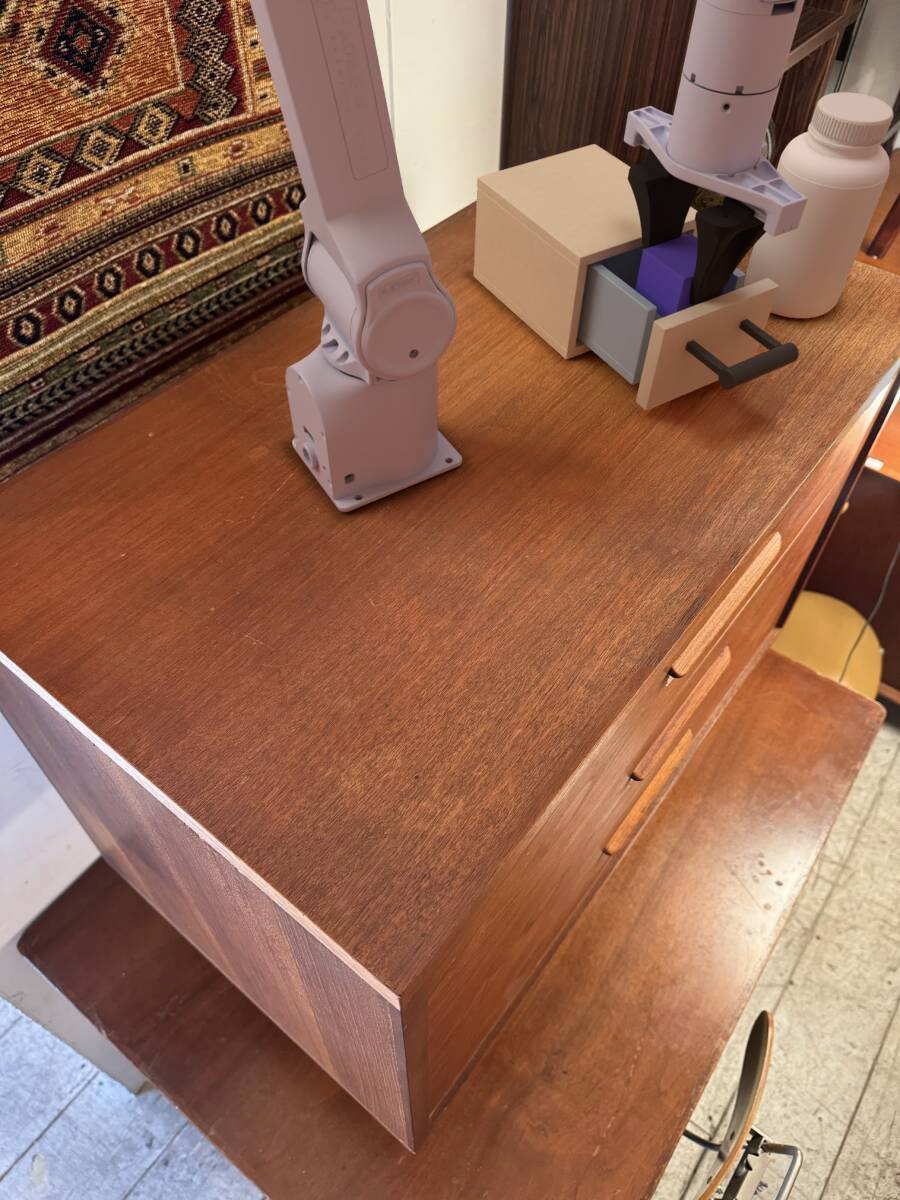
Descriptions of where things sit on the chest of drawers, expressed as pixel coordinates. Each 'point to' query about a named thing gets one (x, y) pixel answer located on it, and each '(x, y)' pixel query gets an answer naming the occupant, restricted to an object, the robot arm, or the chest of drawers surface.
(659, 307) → the violet cube
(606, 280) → the drawer
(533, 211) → the drawer cabinet
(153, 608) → the chest of drawers surface
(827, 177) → the pill bottle
